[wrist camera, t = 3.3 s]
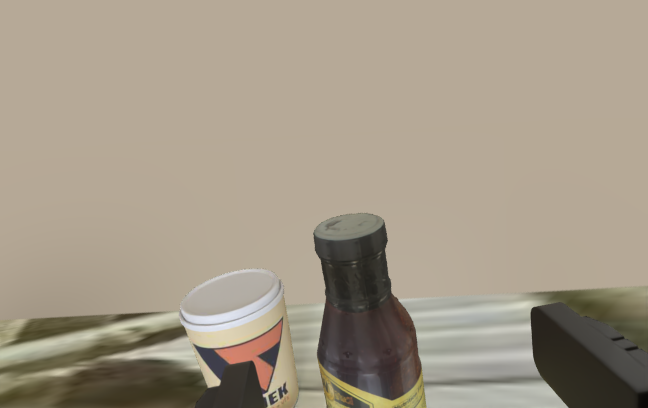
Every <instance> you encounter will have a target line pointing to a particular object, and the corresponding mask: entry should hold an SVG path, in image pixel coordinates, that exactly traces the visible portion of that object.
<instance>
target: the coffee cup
mask: <svg viewBox="0 0 648 408" xmlns="http://www.w3.org/2000/svg"><path fill="white" fill-rule="evenodd" d="M283 294H284V286H283V283H282V281H281V280H280V279H279V278H278V276H277V275H276V274H275V273H274V272H272V271H269V270H266V269H244V270H238V271H233V272H229V273H226V274H223V275H220V276H217V277H214V278H212V279H210V280H208V281H206V282H204V283H202V284H200V285H198V286H197V287H195V288H194V289H193V290H191V291H190V292H189V293H188V294H187V295H186V296H185V297H184V298H183V300H182V302H181V307H180V308H181V309H180V311H179V318H180V321H181V323H182V324H183V326H184V327H185V329H186V332H187V335H188V337H189V340H190V343H191V345H192V348H193V350H194V353H195V355H196V358H197V360H198V363H199V366H200V368H201V371H202V373H203V376H204V378H205V381H206V383H207V386H208V388H209V387H214V386H219V385H220V382H221V378H222V375H223V372H224V368H225V366H226V365H230V364H235V363H240V362H245V361H250V360H252V361H253V362H254V364H255V367H256V370H257V374H258V378H259V382H260V386H261V390H262V394H263V398H264V402H265V406H266V408H294V406H295V404H296V402H297V399H298V394H299V389H298V381H297V373H296V367H295V361H294V355H293V348H292V342H291V336H290V329H289V323H288V317H287V312H286V306H285V301H284V295H283Z"/></svg>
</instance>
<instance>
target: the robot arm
mask: <svg viewBox="0 0 648 408" xmlns="http://www.w3.org/2000/svg"><path fill="white" fill-rule="evenodd" d="M531 330H532V346H533V357H534V361H535V364H536V367H537V369H538V371H539V373H540V375H541V376H542V378H543V379H544V380H545V381H546V382H547V384H548V385H549V386H550V387H551V388H552V389H553V390H554V392H555V393H556V394H557V395H558V396H559V397H560V398H561V399H562V401H563V402H564V403H565V404H566V405H567V406H568V407H569V408H648V353H647V352H645V351H644V350H642V349H639V348H638V346H637V345H635V344H634V343H633V342H631V341H630V340H628V339H625V338H624V336H623V335H621V334H620V333H619V332H617V331H616V330H614V329H613V328H612V327H610V326H609V325H607V324H605V323H602V322H600V321H597V320H595V319H592V318H590V317H587V316H585V317H581V316H580V315H578V314H577V313H576V312H574V311H573V310H572V309H570V308H569V307H568V306H566V305H565V304H564V303H561V302H558V303H553V304H548V305H542V306H537V307H533V308H532V310H531ZM195 408H266V406H265V402H264V398H263V394H262V390H261V386H260V382H259V378H258V374H257V370H256V367H255V364H254V362H253V361H252V360H250V361H245V362H240V363H235V364H230V365H226V366H225V368H224V372H223V375H222V378H221V382H220V385H219V386H214V387H209V388H208V389H207V390H206V392H205V393H204V394H203V395H202V396H201V398H200V399H199V400H198V401H197V402H196V405H195Z"/></svg>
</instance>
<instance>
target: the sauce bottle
mask: <svg viewBox="0 0 648 408" xmlns="http://www.w3.org/2000/svg"><path fill="white" fill-rule="evenodd" d="M313 234H314V242H315V251H316V253H317V255H318V257H319V258H320V259H321V264H322V270H323V275H324V281H325V286H326V290H325V295H326V303H325V308H324V314H323V320H322V326H321V332H320V338H319V344H318V350H317V358H318V363H319V368H320V373H321V378H322V383H323V388H324V394H325V399H326V404H327V408H426V401H425V392H424V384H423V375H422V366H421V361H420V358H419V356H418V347H417V337H416V330H415V327H414V324H413V321H412V319H411V317H410V315H409V313H408V312H407V311H406V309H405V308H404V307H403V305H402V304H401V303H400V302H399V301H398V299H397V298H396V297H394V295H393V294H392V293H391V281H390V278H389V276H388V268H387V261H386V254H385V248H386V244H387V241H388V240H387V233H386V228H385V223H384V220H383V219H382V218H381V217H379V216H376V215H373V214H367V213H358V214H346V215H341V216H337V217H333V218H330V219H328V220H326V221H324V222H322V223H320V224H319V225H318V226H317V227H316V229H315V230H314V233H313Z"/></svg>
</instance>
